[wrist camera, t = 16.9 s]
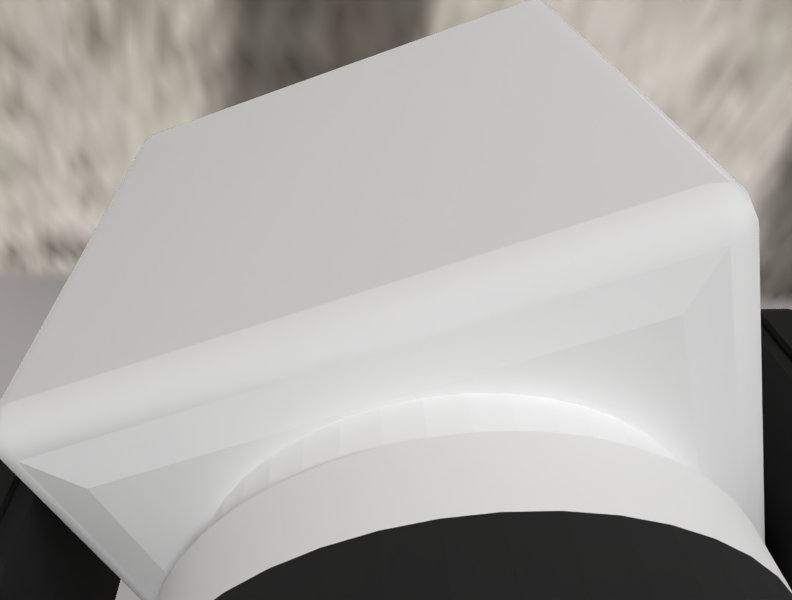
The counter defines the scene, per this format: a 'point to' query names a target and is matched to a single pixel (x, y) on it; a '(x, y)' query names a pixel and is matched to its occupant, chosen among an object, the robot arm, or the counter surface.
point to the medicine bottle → (414, 343)
